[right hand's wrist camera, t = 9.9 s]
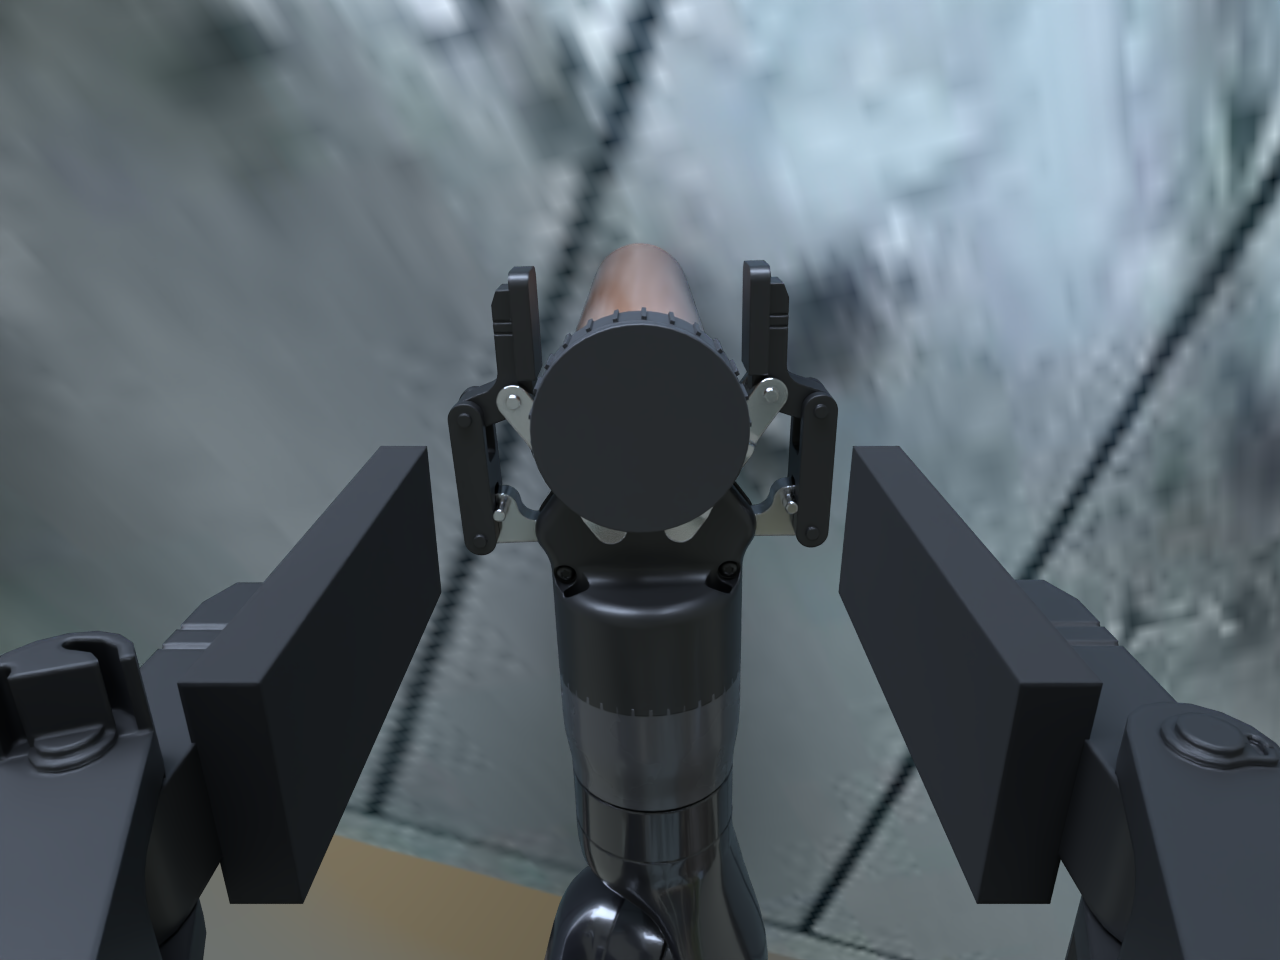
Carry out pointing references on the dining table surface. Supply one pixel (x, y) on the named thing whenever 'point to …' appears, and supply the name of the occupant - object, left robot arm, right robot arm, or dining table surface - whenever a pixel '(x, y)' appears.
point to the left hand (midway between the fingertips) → (638, 266)
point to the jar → (639, 285)
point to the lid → (639, 422)
